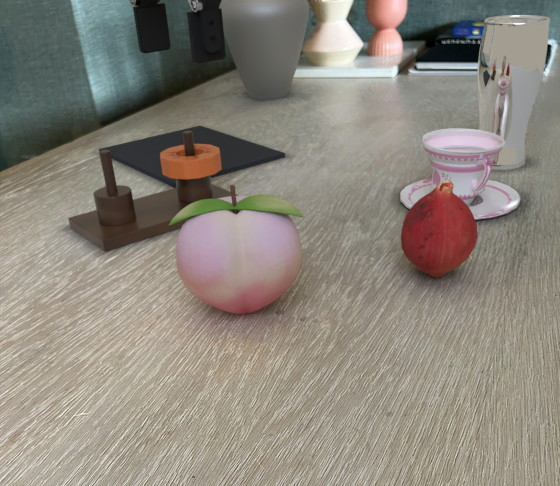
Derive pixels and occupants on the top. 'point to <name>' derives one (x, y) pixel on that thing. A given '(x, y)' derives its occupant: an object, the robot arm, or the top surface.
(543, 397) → the top surface
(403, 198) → the teacup
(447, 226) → the pomegranate
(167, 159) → the disc
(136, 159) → the mat
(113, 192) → the rack
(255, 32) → the vase
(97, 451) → the top surface
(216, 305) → the decorative fruit
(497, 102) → the beer glass
